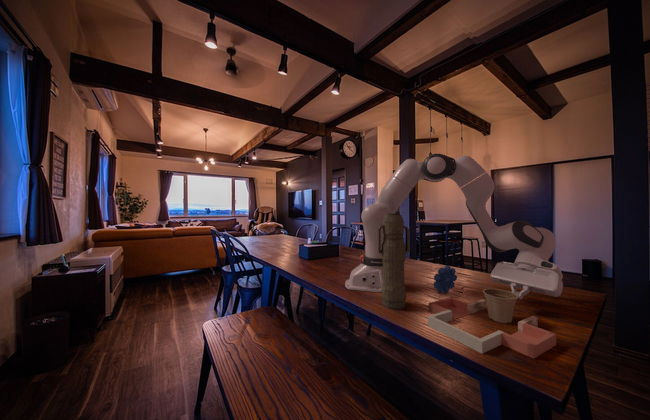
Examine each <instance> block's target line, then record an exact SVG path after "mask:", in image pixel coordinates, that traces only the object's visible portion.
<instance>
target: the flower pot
mask: <svg viewBox="0 0 650 420" xmlns="http://www.w3.org/2000/svg"><path fill="white" fill-rule="evenodd" d="M482 292H483V294H484V297H485V300H486V309H487V312H488V313H487V314H488V318H489V319H491V320H493V321H494V322H497V323H501V324H507V323H510V324H511V323H512V322H513V316H514V311H515V307H516V306H515V305H516V303H517V300H518V299H519V298H518V296H517V295H516V294H514V293H512V291H509V290H504V289H499V288H484V289H483V290H482Z"/></svg>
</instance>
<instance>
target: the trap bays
mask: <svg viewBox="0 0 650 420" xmlns="http://www.w3.org/2000/svg"><path fill="white" fill-rule="evenodd" d="M469 303H470V302H466V301H463V300H461V299H458V298H455V297H452V296H449V297H446V298H441V299H438V300H435V301H431V302H429V303H428V312H429V313H431V314H432V315H433V314H437V313H440V312H443V311H446V310H451V311H452V320H451V321H453V320H457V319H459V318H463V317H465V316H469V315H471V313H469V312H467V304H469ZM503 332H504V331H503ZM501 345H503V346H504V347H507V348H509V349H512V350H514V351H516V352H517V353H520V354H523V355H524V356H527V357H529V358H531V359H534V360H535V359H536V358H537V357H540V356H541V355H542V354H544V353H546V352H547V351H549V350H550V349H553V348H554V347H556V345H557V334H556V333H555V332H552V331H548V330H546V329H544V328H540V327H535V326H532V325H529V324H526V323H524V324H523V333H520V332H518V331H516V332H514V333H512V334H509V333H507V332H504V333H502V344H501Z"/></svg>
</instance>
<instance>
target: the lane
mask: <svg viewBox="0 0 650 420" xmlns="http://www.w3.org/2000/svg"><path fill="white" fill-rule="evenodd" d="M468 303H469V304H467V312H469V313H471V314H474V313H478V312H480V311H483V310H485V309H487V302H486V299H479V300H476V301H472V302H468ZM471 314H470V315H471ZM538 320H539V319H538V316H535V315H531V316H529V317H526V318H524V319H522V320H520V321H518V322H517V332H520V333H523V324H524V323H526V324H529V325H532V326H535V327H538V325H539V324H538V322H539V321H538ZM538 328H539V327H538Z"/></svg>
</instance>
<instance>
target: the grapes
mask: <svg viewBox="0 0 650 420" xmlns="http://www.w3.org/2000/svg"><path fill="white" fill-rule="evenodd" d="M456 272H457V271H456V268H454V267H451V266H450V265H447V264H446V265H445V266H444V267H439V268H438V270H437V273H436V274H434V276H433V280H434V282H433V283H432V285H433V288H434V289H436V292H437V293H439V294H442V293H444V294H447V293H449V292H450V289H454V288H455V286H456V283H455V282H457V279H458V276H457V274H456Z"/></svg>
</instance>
